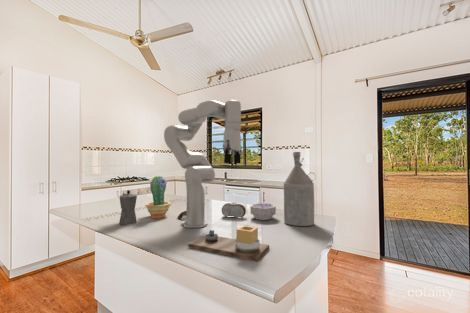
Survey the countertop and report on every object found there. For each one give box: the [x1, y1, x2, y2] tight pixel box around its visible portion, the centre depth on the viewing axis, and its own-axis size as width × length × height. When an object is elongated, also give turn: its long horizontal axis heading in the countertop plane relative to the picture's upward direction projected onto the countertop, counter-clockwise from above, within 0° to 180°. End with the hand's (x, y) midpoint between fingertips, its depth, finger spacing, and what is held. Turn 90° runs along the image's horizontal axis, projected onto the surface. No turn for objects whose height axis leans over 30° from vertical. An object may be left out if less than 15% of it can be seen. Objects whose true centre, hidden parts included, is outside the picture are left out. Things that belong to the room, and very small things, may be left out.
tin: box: [221, 202, 247, 218], centre depth 141 cm, size 15×3×8 cm, turn 74°
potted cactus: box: [144, 175, 172, 219], centre depth 144 cm, size 16×15×25 cm
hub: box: [235, 238, 260, 254], centre depth 86 cm, size 9×9×6 cm
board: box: [188, 234, 270, 263], centre depth 91 cm, size 29×13×2 cm, turn 63°
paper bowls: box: [249, 202, 277, 221], centre depth 139 cm, size 15×15×8 cm
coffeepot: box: [118, 189, 138, 226], centre depth 129 cm, size 15×9×18 cm, turn 44°
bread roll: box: [177, 210, 187, 222], centre depth 140 cm, size 13×12×5 cm
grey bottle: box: [283, 151, 317, 227], centre depth 128 cm, size 13×17×40 cm
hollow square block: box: [236, 224, 259, 244], centre depth 86 cm, size 6×6×4 cm
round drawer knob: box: [205, 229, 218, 242], centre depth 95 cm, size 5×5×4 cm
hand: (232, 163), depth 109 cm, fingers open, 9 cm apart
